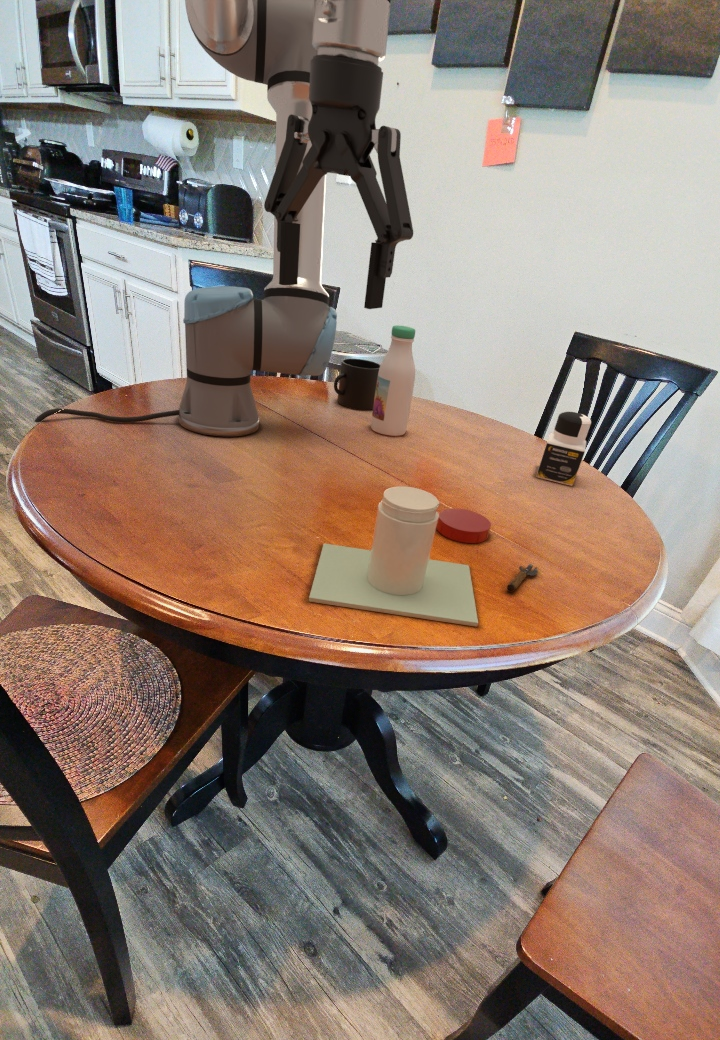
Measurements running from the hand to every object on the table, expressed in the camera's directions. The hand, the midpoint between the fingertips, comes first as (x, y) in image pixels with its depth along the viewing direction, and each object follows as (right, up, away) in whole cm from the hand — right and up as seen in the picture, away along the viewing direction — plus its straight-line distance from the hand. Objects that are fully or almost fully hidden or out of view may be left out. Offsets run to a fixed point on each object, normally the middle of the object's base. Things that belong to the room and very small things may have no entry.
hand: (329, 296), depth 73 cm
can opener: (+26, -35, +6) cm, 44 cm away
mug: (+2, +13, +66) cm, 67 cm away
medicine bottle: (+43, -11, +43) cm, 61 cm away
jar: (+8, -35, +1) cm, 36 cm away
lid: (+20, -25, +16) cm, 35 cm away
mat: (+8, -36, +1) cm, 37 cm away
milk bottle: (+10, +2, +53) cm, 54 cm away
